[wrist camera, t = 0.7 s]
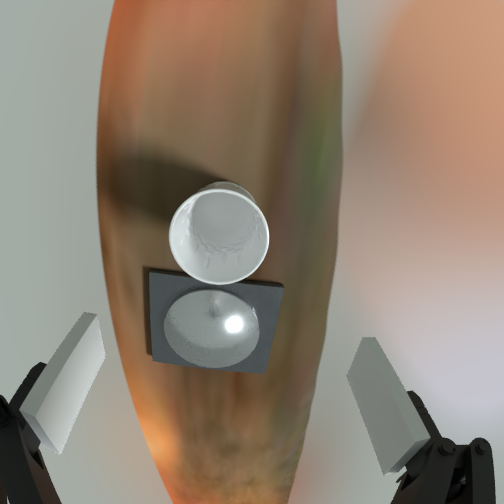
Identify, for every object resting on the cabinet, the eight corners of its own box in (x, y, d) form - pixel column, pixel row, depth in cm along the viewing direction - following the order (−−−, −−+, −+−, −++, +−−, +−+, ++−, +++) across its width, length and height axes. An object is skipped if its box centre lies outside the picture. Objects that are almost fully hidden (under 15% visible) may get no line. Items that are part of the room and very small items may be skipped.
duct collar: (151, 268, 34) (147, 275, 33) (282, 284, 36) (285, 291, 34) (154, 356, 39) (151, 364, 37) (264, 368, 41) (265, 377, 39)
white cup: (179, 188, 31) (154, 207, 22) (248, 166, 31) (253, 175, 21) (201, 252, 34) (189, 294, 25) (268, 233, 34) (279, 270, 24)
